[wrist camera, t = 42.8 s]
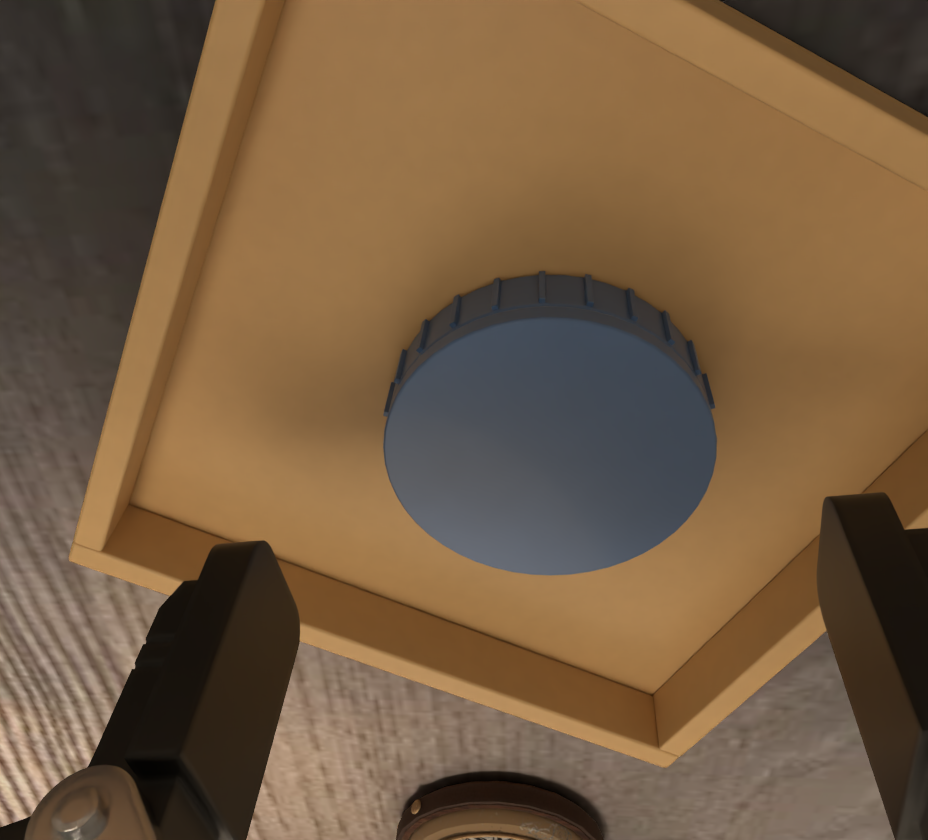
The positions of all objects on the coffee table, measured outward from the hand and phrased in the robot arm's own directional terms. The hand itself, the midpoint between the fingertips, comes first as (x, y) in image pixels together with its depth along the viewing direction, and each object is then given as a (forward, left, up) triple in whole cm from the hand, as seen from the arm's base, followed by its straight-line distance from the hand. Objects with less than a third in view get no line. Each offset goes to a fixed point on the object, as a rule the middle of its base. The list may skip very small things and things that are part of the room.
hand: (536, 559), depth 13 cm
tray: (0, 0, -5) cm, 5 cm away
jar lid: (0, 0, -3) cm, 3 cm away
